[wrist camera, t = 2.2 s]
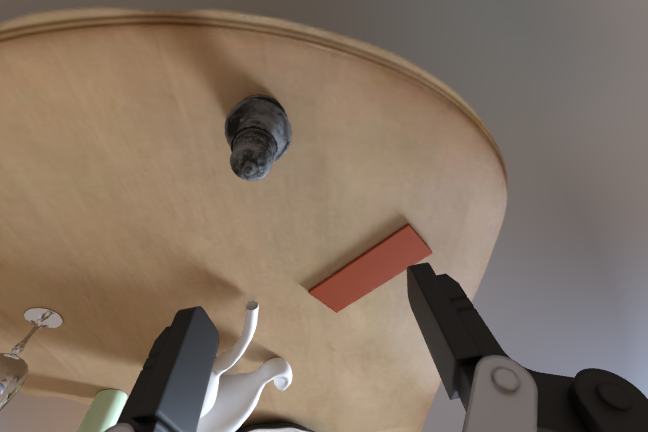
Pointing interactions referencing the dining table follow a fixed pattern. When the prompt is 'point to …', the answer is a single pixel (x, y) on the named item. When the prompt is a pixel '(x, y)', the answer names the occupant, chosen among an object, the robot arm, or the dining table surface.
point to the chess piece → (256, 136)
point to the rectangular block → (371, 269)
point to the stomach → (239, 383)
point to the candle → (103, 411)
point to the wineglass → (9, 369)
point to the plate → (275, 428)
